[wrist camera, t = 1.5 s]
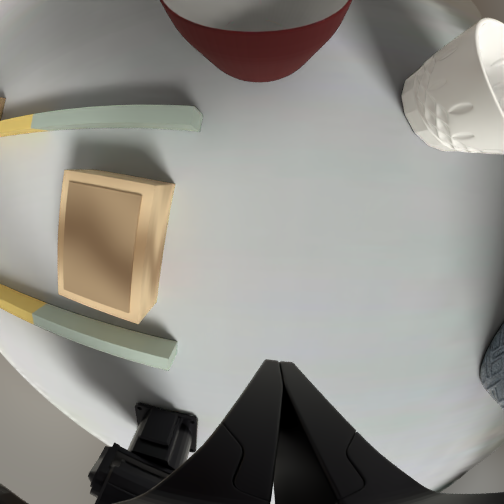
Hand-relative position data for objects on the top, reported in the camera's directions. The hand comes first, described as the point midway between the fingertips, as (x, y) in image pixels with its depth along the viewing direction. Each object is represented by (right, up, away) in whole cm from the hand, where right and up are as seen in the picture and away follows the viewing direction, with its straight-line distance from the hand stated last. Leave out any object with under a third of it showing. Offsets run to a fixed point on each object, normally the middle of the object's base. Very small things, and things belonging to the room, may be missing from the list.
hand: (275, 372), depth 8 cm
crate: (-10, +5, +12) cm, 17 cm away
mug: (-1, +18, +8) cm, 20 cm away
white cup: (+14, +15, +8) cm, 22 cm away
